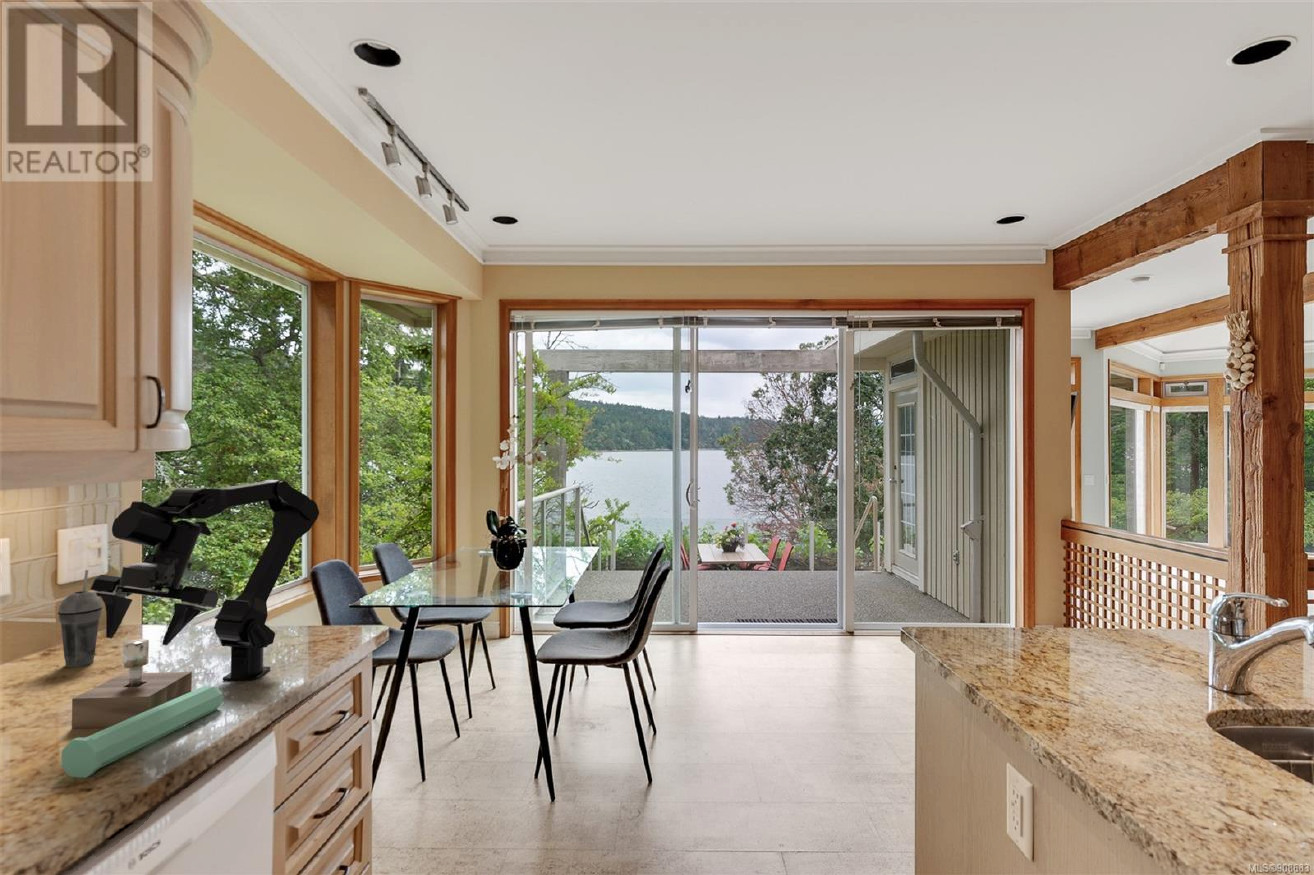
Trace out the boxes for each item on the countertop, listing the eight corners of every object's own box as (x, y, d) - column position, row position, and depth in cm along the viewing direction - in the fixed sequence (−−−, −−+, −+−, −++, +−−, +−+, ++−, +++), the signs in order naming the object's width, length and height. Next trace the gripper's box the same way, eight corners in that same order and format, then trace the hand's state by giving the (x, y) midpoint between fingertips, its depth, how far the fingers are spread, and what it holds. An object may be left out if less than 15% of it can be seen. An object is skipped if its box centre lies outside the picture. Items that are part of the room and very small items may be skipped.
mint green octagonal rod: (207, 674, 119) (69, 731, 94) (234, 688, 119) (102, 750, 94) (195, 703, 119) (54, 769, 95) (222, 718, 119) (87, 787, 94)
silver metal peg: (131, 686, 118) (132, 639, 118) (152, 686, 118) (153, 638, 118) (117, 694, 114) (117, 645, 114) (139, 693, 115) (139, 645, 115)
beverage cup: (47, 668, 138) (49, 573, 138) (83, 657, 145) (84, 567, 146) (75, 670, 137) (77, 575, 137) (110, 659, 144) (112, 568, 144)
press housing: (122, 700, 122) (122, 673, 122) (191, 698, 123) (191, 671, 123) (71, 728, 110) (72, 698, 110) (148, 726, 111) (149, 696, 111)
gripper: (89, 535, 112) (46, 629, 106) (204, 551, 113) (167, 645, 107) (128, 549, 122) (91, 636, 116) (233, 563, 124) (201, 649, 118)
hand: (136, 641), depth 114 cm, fingers open, 9 cm apart
